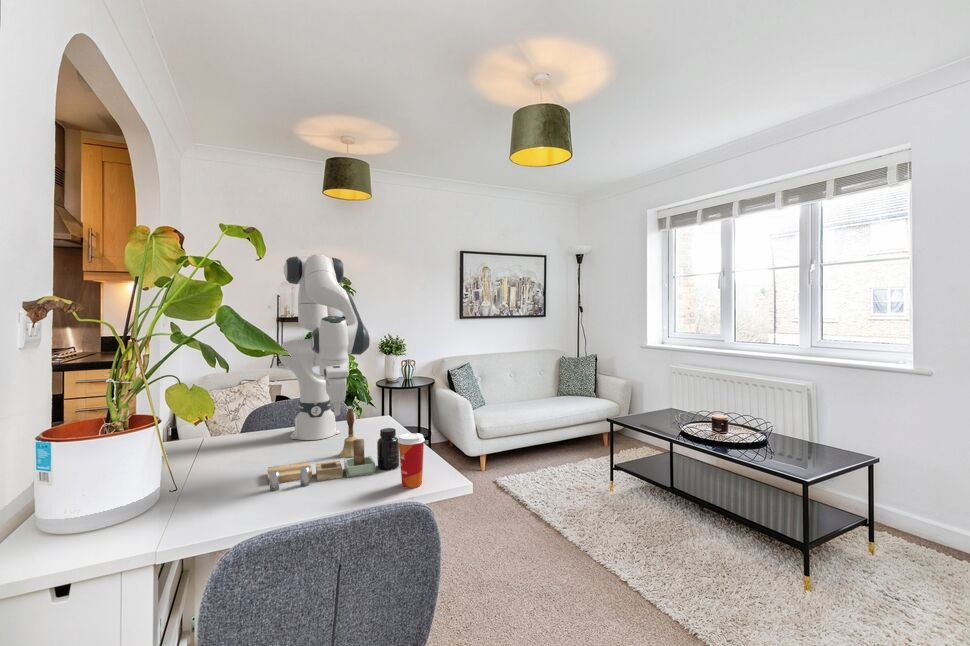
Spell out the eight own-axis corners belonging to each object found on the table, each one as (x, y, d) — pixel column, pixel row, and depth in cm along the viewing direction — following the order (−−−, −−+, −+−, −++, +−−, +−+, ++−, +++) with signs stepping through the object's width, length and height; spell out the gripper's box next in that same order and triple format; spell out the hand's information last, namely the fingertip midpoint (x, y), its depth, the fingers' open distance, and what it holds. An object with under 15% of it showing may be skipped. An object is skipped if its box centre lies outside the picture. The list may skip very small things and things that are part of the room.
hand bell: (334, 457, 158) (333, 410, 158) (347, 449, 166) (346, 405, 166) (355, 458, 156) (354, 411, 156) (368, 451, 164) (367, 406, 164)
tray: (344, 469, 146) (344, 459, 146) (370, 465, 149) (370, 456, 149) (347, 477, 138) (347, 467, 138) (375, 473, 141) (375, 463, 141)
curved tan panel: (267, 475, 142) (267, 467, 142) (309, 469, 147) (309, 461, 147) (267, 486, 133) (267, 477, 133) (312, 479, 138) (312, 471, 138)
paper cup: (401, 479, 136) (400, 432, 135) (427, 479, 136) (426, 432, 135) (395, 490, 128) (394, 439, 128) (423, 490, 128) (422, 439, 127)
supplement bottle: (373, 467, 147) (372, 430, 147) (391, 462, 152) (390, 425, 152) (385, 472, 142) (385, 433, 142) (403, 466, 147) (403, 429, 147)
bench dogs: (269, 488, 130) (269, 471, 130) (309, 482, 134) (308, 465, 134) (269, 491, 128) (269, 473, 128) (309, 485, 132) (309, 468, 132)
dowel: (353, 468, 145) (352, 439, 144) (363, 466, 146) (363, 438, 146) (354, 471, 142) (354, 442, 141) (365, 469, 143) (364, 440, 143)
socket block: (316, 473, 142) (316, 463, 142) (339, 470, 145) (339, 460, 145) (317, 481, 135) (317, 471, 135) (342, 477, 138) (342, 467, 138)
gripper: (320, 364, 153) (321, 406, 154) (327, 373, 135) (327, 420, 135) (340, 363, 156) (341, 404, 156) (349, 372, 137) (350, 418, 138)
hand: (335, 411), depth 146 cm, fingers open, 8 cm apart
